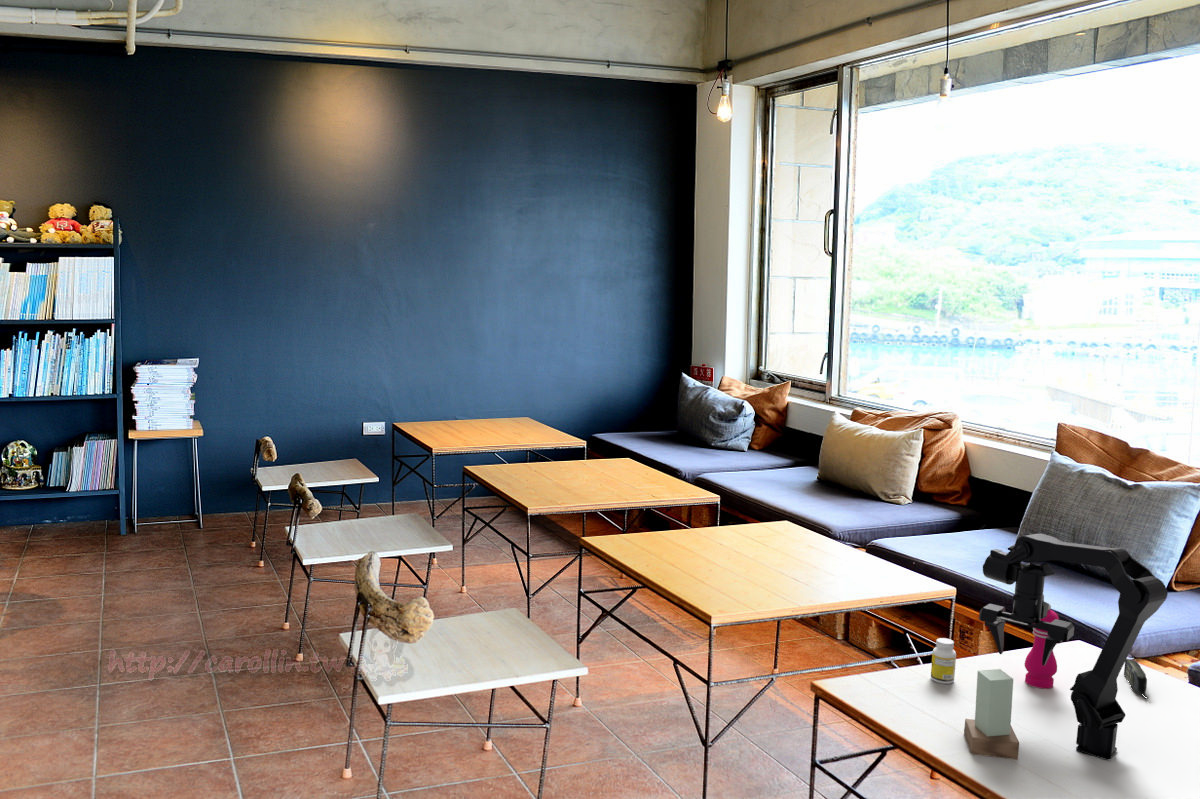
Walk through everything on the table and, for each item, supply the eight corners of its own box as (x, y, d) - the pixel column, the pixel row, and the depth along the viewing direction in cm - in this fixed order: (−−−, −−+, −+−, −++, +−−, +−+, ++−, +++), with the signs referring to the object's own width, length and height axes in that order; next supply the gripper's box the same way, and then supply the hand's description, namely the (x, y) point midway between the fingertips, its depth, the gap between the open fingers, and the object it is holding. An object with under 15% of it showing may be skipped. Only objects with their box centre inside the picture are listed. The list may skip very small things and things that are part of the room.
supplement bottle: (935, 673, 253) (938, 635, 252) (957, 680, 250) (961, 640, 249) (926, 680, 249) (930, 640, 248) (948, 686, 246) (952, 646, 244)
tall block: (996, 723, 217) (1000, 668, 215) (1009, 734, 212) (1013, 678, 210) (974, 725, 216) (977, 670, 214) (987, 736, 211) (990, 680, 209)
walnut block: (1008, 741, 218) (1010, 723, 218) (1017, 761, 210) (1019, 742, 209) (963, 736, 220) (965, 718, 219) (970, 755, 211) (972, 737, 211)
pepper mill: (1027, 675, 255) (1035, 596, 252) (1058, 683, 251) (1066, 603, 248) (1019, 684, 249) (1027, 603, 246) (1051, 692, 245) (1060, 610, 242)
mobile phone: (1123, 656, 258) (1138, 677, 243) (1136, 658, 257) (1152, 679, 242) (1121, 676, 258) (1136, 698, 244) (1134, 677, 257) (1150, 700, 243)
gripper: (1084, 592, 228) (1077, 661, 230) (998, 574, 239) (991, 639, 241) (1070, 604, 219) (1062, 675, 221) (981, 584, 231) (974, 651, 233)
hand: (1022, 659), depth 229 cm, fingers open, 9 cm apart
